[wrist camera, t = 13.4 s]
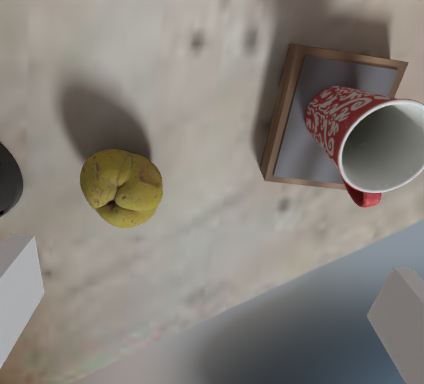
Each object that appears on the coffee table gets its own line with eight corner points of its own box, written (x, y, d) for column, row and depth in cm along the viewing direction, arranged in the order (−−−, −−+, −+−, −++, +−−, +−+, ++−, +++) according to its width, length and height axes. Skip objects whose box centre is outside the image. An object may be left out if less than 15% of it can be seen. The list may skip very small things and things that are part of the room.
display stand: (260, 169, 47) (265, 181, 44) (289, 43, 39) (299, 45, 35) (344, 179, 49) (356, 191, 45) (390, 59, 40) (410, 62, 37)
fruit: (156, 130, 44) (145, 155, 35) (174, 199, 50) (168, 235, 41) (82, 142, 44) (53, 171, 36) (108, 209, 50) (89, 248, 41)
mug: (296, 82, 37) (341, 108, 25) (370, 71, 37) (451, 92, 25) (297, 174, 43) (333, 229, 31) (360, 165, 43) (421, 217, 31)
